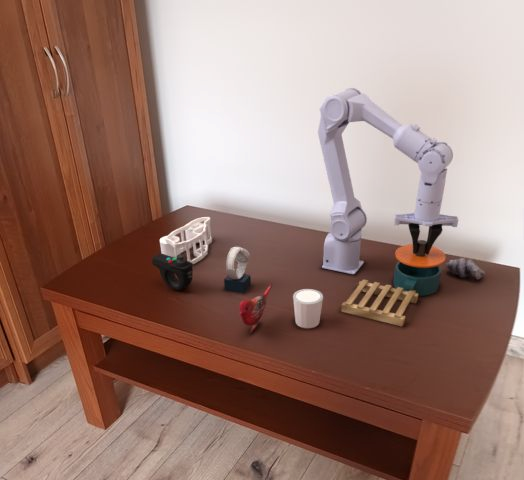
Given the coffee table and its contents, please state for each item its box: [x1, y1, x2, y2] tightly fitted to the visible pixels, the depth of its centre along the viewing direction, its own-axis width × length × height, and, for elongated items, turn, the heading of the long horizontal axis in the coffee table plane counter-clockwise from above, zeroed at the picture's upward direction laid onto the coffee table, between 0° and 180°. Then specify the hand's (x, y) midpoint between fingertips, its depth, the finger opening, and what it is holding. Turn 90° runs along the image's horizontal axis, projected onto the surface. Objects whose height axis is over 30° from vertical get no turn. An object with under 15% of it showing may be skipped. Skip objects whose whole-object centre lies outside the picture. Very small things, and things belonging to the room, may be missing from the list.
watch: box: [223, 246, 252, 294], centre depth 135 cm, size 6×8×11 cm
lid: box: [394, 239, 447, 268], centre depth 131 cm, size 12×12×4 cm
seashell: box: [445, 257, 485, 280], centre depth 138 cm, size 5×5×10 cm
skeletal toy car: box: [159, 216, 213, 265], centre depth 153 cm, size 20×11×7 cm, turn 147°
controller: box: [151, 253, 194, 291], centre depth 136 cm, size 4×12×10 cm, turn 54°
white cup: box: [292, 288, 324, 329], centre depth 122 cm, size 7×7×7 cm
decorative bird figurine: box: [238, 283, 273, 334], centre depth 121 cm, size 3×18×10 cm, turn 156°
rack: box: [340, 279, 419, 327], centre depth 128 cm, size 15×13×3 cm
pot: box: [392, 260, 443, 297], centre depth 135 cm, size 11×17×5 cm
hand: (420, 252), depth 131 cm, fingers closed on lid, 2 cm apart
